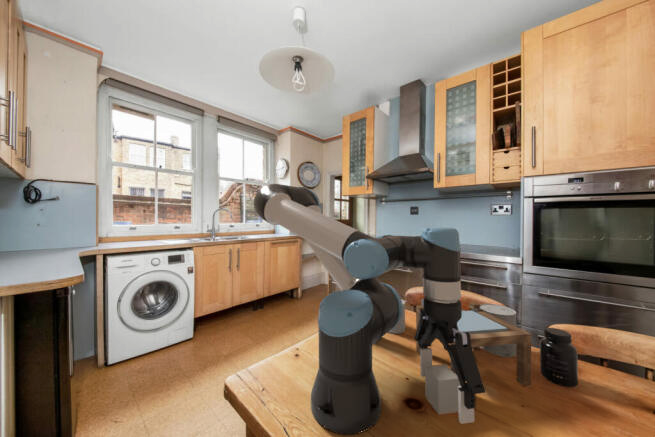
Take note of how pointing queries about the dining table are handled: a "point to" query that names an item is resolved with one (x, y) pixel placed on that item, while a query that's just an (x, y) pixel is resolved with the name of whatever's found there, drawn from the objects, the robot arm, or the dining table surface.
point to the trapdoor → (476, 323)
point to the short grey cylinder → (507, 316)
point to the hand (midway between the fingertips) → (443, 395)
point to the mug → (400, 322)
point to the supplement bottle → (559, 358)
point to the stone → (441, 388)
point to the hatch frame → (499, 342)
